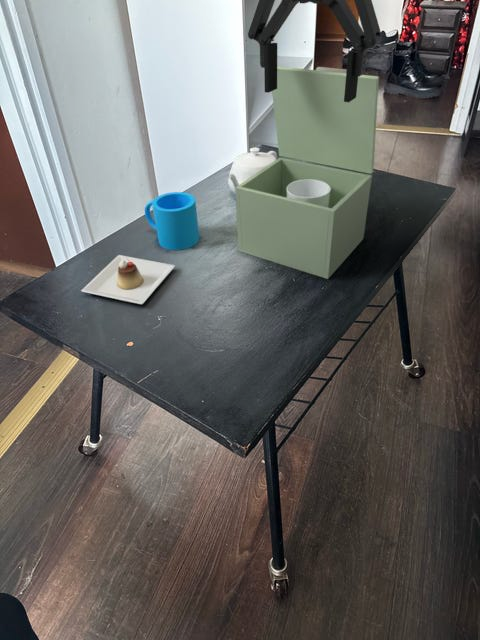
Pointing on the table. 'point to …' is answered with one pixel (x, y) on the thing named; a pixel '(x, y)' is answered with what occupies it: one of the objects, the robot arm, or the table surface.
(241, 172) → the teapot
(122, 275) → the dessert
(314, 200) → the white cup
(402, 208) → the table surface
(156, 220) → the mug
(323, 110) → the chest lid
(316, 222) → the chest
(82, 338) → the table surface
